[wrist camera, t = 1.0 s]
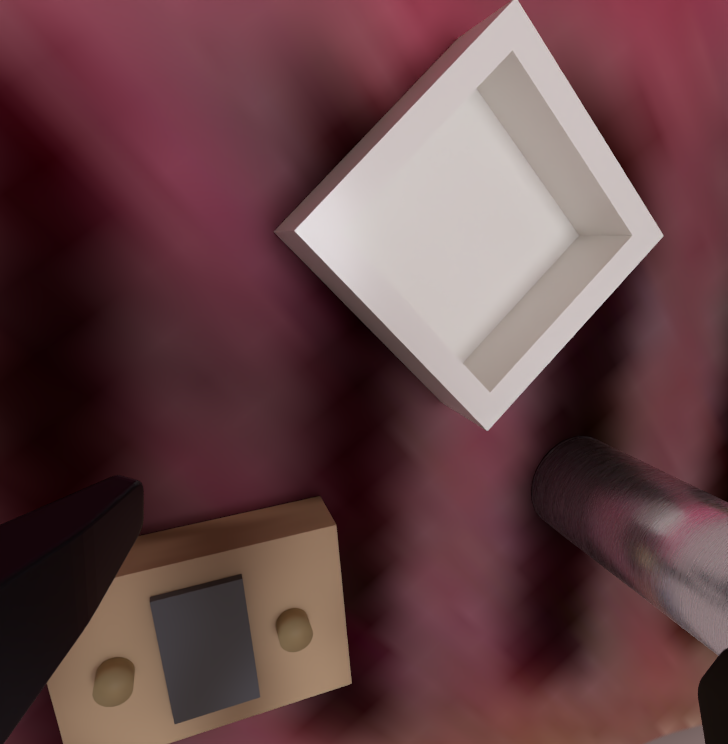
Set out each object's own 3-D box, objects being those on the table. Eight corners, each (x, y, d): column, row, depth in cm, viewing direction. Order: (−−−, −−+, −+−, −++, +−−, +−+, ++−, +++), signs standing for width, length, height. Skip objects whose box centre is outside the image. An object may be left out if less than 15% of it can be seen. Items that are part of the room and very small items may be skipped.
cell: (566, 544, 27) (890, 798, 15) (513, 491, 25) (832, 730, 13) (628, 473, 27) (996, 666, 15) (580, 416, 25) (954, 583, 13)
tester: (82, 718, 21) (67, 796, 18) (41, 557, 19) (17, 615, 16) (335, 642, 24) (357, 699, 21) (319, 496, 22) (342, 535, 19)
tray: (442, 402, 23) (487, 431, 20) (273, 231, 19) (294, 230, 16) (594, 236, 23) (663, 235, 20) (458, 37, 20) (516, -3, 16)
